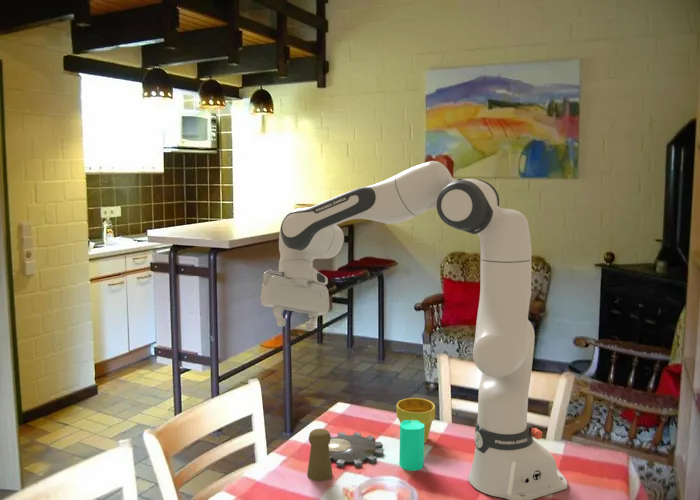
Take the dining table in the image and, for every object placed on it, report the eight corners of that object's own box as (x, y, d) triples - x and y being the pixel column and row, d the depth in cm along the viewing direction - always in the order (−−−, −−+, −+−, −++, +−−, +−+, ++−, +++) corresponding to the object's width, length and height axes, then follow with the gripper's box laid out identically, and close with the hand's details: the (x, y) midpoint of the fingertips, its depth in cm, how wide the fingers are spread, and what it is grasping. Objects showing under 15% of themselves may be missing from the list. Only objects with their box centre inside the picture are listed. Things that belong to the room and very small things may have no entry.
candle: (424, 470, 146) (426, 423, 144) (400, 470, 146) (401, 423, 144) (422, 459, 152) (423, 413, 150) (398, 458, 152) (399, 413, 150)
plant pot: (407, 451, 156) (408, 415, 155) (389, 434, 165) (389, 400, 164) (441, 443, 160) (442, 408, 159) (422, 428, 170) (422, 395, 168)
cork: (329, 482, 140) (329, 437, 139) (304, 479, 142) (303, 435, 140) (334, 469, 146) (335, 426, 145) (310, 467, 147) (310, 424, 146)
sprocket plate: (371, 432, 167) (371, 428, 167) (392, 462, 150) (392, 457, 150) (309, 439, 162) (309, 435, 162) (323, 471, 145) (323, 466, 145)
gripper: (271, 265, 147) (270, 321, 143) (332, 279, 161) (333, 330, 156) (255, 271, 151) (254, 325, 147) (316, 284, 165) (317, 334, 161)
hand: (295, 328), depth 152 cm, fingers open, 8 cm apart
